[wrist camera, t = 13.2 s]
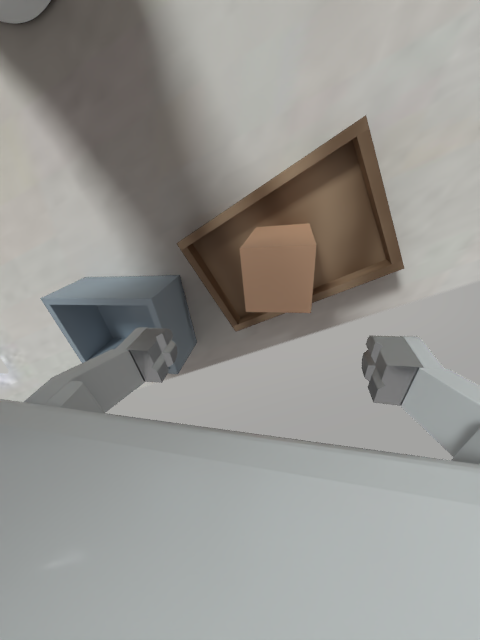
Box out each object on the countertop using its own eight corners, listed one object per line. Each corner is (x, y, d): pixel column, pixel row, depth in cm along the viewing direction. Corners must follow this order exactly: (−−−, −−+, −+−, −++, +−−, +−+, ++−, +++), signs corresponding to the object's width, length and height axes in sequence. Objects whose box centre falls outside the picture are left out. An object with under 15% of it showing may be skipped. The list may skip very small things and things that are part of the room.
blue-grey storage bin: (84, 277, 31) (40, 298, 25) (179, 275, 27) (151, 298, 22) (114, 338, 36) (83, 365, 31) (196, 342, 33) (177, 374, 28)
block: (256, 227, 22) (239, 248, 15) (309, 223, 20) (316, 244, 14) (259, 275, 24) (245, 311, 18) (306, 274, 23) (311, 312, 16)
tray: (239, 320, 29) (235, 331, 27) (186, 238, 25) (176, 243, 23) (393, 259, 21) (404, 268, 19) (357, 123, 17) (365, 115, 15)
